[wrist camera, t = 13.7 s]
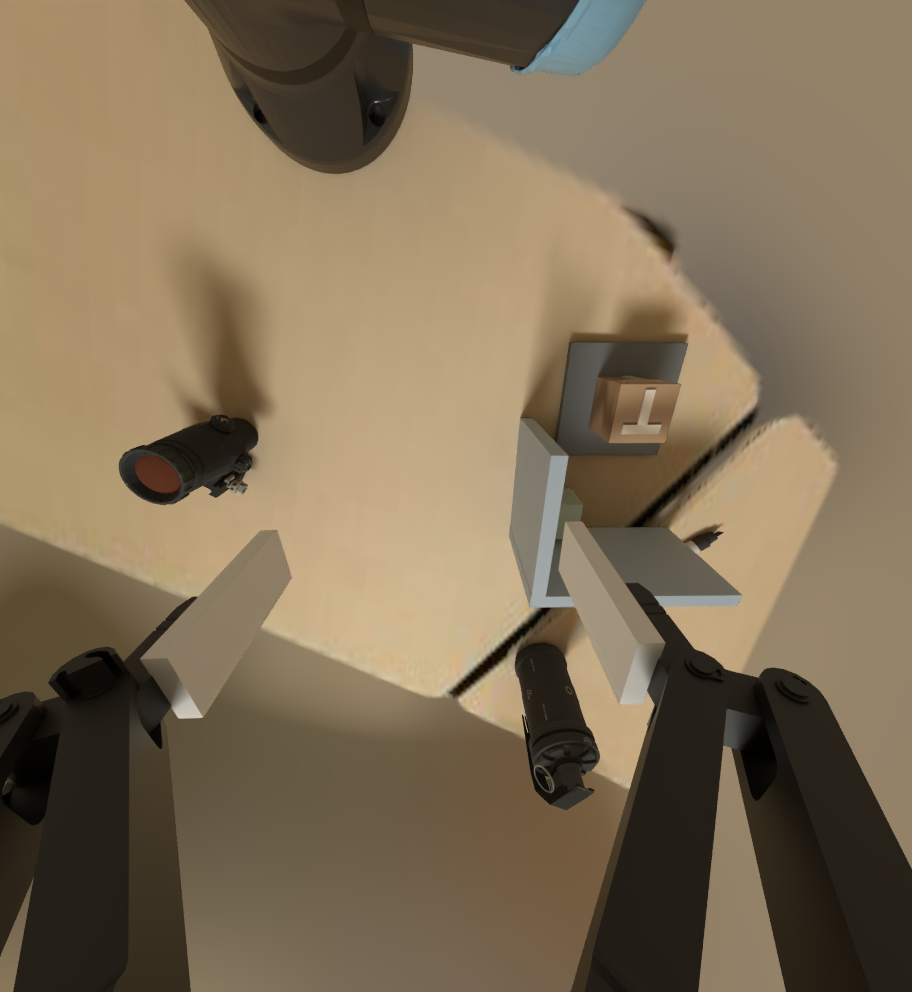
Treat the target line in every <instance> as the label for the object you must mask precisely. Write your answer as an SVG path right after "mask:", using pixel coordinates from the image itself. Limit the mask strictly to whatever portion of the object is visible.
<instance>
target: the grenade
mask: <svg viewBox="0 0 912 992" xmlns="http://www.w3.org/2000/svg"><path fill="white" fill-rule="evenodd" d="M515 671H516V675H517V677H518V678H519V681H520V686H521V691H522V699H523V704H524V709H525V714H526V716H525V720H526V725H527V729H528V733H527V730H526V726H525V721H524V717H523V715H522V719H523V725H524V732H525V739H526V745H527V752H528V758H529V765H530V771H531V776H532V779H533V783H534V787H535V790H536V792H537V793H538V794H539V795H540V796H541V797H542V798H543V799H544V800H545V801H547V802H548V803H549V804H550V805H553V806H556V807H559V808H562V809H565V810H567V809H569V808H571V807H572V806H574V805H576V804H577V803H579V802H580V801H582V800H584V799H585V798H587V797H588V796H589V795H591V794H592V793H594V790H593V789H591V788H589V789H587V788H585V787H584V784H583V780H582V778H581V776H583V775H585V774H586V772H588V771H591V770H592V769H593V768H594V767H595V766H596V765H597V763H598V762H599V759H600V754H599V750H598V748H597V745H596V743H595V739H594V736H593V733H592V732H591V730H590V729H589V728H588V727H587V726H586V723H585V720H584V717H583V714H582V712H581V709H580V705H579V701H578V698H577V695H576V693H575V690H574V687H573V685H572V683H571V680H570V677H569V674H568V671H567V663H566V660H565V657H564V655H563V654H562V652H561V651H560V650H559V649H557V648H556V647H554V646H551V645H546V644H536V645H532V646H529V647H527V648H525V649H524V650H523V651H521V652H520V653H519V654H518V656H517V658H516V661H515ZM526 717H527V719H526ZM527 721H528V722H527ZM545 776H548V777H550V778H549V779H548V780H547V781H546V778H545ZM547 782H548V784H547ZM548 786H549V787H548Z"/></svg>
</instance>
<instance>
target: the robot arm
mask: <svg viewBox="0 0 912 992" xmlns="http://www.w3.org/2000/svg"><path fill="white" fill-rule="evenodd" d="M185 1H186V3H187V4H188V5H189V6H190V7H191V9H192V10H193V11H194V12H195V13H196V15H197V16H198V17H199V18H200V20H201V21H202V22H203V23H204V24H205V26H206V27H207V28H208V30H209V33H210V35H211V38H212V40H213V43H214V46H215V48H216V51H217V53H218V56H219V58H220V61H221V63H222V66H223V69H224V71H225V73H226V76H227V78H228V80H229V82H230V84H231V86H232V88H233V90H234V92H235V93H236V95H237V97H238V99H239V100H240V102H241V104H242V105H243V107H244V108H245V110H246V111H247V113H248V114H249V115H250V117H251V118H252V120H253V121H254V122H255V123H256V125H257V126H258V127H259V128H260V129H261V130H262V131H263V132H264V133H265V135H266V136H267V137H268V138H269V139H270V140H271V141H272V142H273V143H274V144H275V145H276V146H277V147H278V148H279V149H280V150H281V151H282V152H284V153H285V154H286V155H287V156H289V157H290V158H291V159H293V160H294V161H296V162H298V163H299V164H301V165H303V166H305V167H308V168H310V169H313V170H315V171H319V172H324V173H332V174H341V173H348V172H352V171H355V170H358V169H360V168H362V167H364V166H366V165H368V164H370V163H371V162H372V161H374V160H375V159H376V158H377V157H378V156H380V155H381V154H382V152H383V151H384V150H385V149H386V148H387V147H388V145H389V144H390V143H391V141H392V140H393V138H394V136H395V135H396V133H397V131H398V129H399V127H400V125H401V122H402V120H403V118H404V115H405V112H406V108H407V105H408V101H409V96H410V91H411V84H412V74H413V49H412V43H413V44H418V45H422V46H426V47H431V48H436V49H440V50H444V51H448V52H453V53H457V54H463V55H467V56H471V57H475V58H480V59H484V60H489V61H494V62H498V63H502V64H507V65H510V69H511V70H512V72H514V73H516V74H519V75H523V74H527V73H531V72H534V71H538V72H545V73H551V74H558V75H564V76H577V75H581V74H583V73H585V72H586V71H587V70H589V69H591V68H592V67H593V66H596V65H598V64H599V63H600V62H602V61H603V60H604V59H605V58H606V57H607V56H608V55H609V53H610V52H611V51H612V50H613V49H614V48H615V47H616V45H617V44H618V43H619V41H620V40H621V39H622V37H623V36H624V35H625V33H626V32H627V30H628V29H629V28H630V26H631V24H632V23H633V21H634V20H635V18H636V17H637V15H638V13H639V12H640V10H641V8H642V7H643V5H644V4H645V2H646V0H185ZM558 570H559V572H560V574H561V577H562V579H563V581H564V583H565V586H566V588H567V590H568V592H569V594H570V597H571V599H572V601H573V603H574V606H575V608H576V610H577V612H578V614H579V617H580V619H581V621H582V623H583V626H584V628H585V630H586V632H587V634H588V637H589V639H590V641H591V643H592V646H593V648H594V650H595V652H596V654H597V657H598V659H599V661H600V663H601V665H602V668H603V670H604V672H605V674H606V677H607V679H608V681H609V683H610V685H611V688H612V690H613V692H614V694H615V697H616V699H617V701H618V703H619V705H627V704H644V701H645V698H646V695H647V693H649V695H650V697H651V699H652V701H653V702H654V704H655V706H654V708H653V711H652V713H651V716H650V718H649V721H648V724H647V725H648V728H647V732H646V735H645V738H644V742H643V745H642V749H641V752H640V756H639V759H638V762H637V766H636V769H635V773H634V776H633V780H632V783H631V787H630V790H629V793H628V797H627V800H626V804H625V807H624V811H623V814H622V817H621V821H620V825H619V828H618V832H617V835H616V838H615V841H614V845H613V848H612V852H611V856H610V859H609V862H608V866H607V869H606V873H605V876H604V879H603V883H602V886H601V890H600V893H599V897H598V900H597V903H596V907H595V910H594V914H593V917H592V920H591V924H590V927H589V931H588V934H587V938H586V941H585V945H584V948H583V951H582V955H581V958H580V962H579V965H578V969H577V972H576V975H575V979H574V982H573V985H572V989H571V992H698V988H699V978H700V968H701V959H702V949H703V939H704V928H705V918H706V909H707V899H708V889H709V880H710V869H711V860H712V850H713V840H714V830H715V820H716V811H717V801H718V791H719V790H718V789H719V780H720V771H721V761H722V751H723V745H724V746H727V747H731V748H732V753H733V757H734V761H735V766H736V770H737V774H738V779H739V784H740V788H741V793H742V797H743V802H744V806H745V810H746V815H747V820H748V824H749V828H750V833H751V837H752V842H753V846H754V850H755V855H756V860H757V864H758V868H759V873H760V878H761V882H762V887H763V890H764V895H765V899H766V904H767V909H768V913H769V918H770V922H771V927H772V931H773V936H774V940H775V944H776V949H777V953H778V958H779V962H780V967H781V971H782V976H783V980H784V985H785V989H786V992H912V869H911V867H910V865H909V863H908V861H907V859H906V857H905V855H904V853H903V851H902V849H901V847H900V845H899V843H898V841H897V839H896V837H895V835H894V833H893V831H892V829H891V827H890V825H889V823H888V821H887V819H886V817H885V815H884V813H883V811H882V809H881V807H880V805H879V803H878V801H877V799H876V797H875V795H874V793H873V791H872V789H871V788H870V786H869V784H868V782H867V780H866V778H865V776H864V774H863V772H862V770H861V768H860V766H859V764H858V762H857V760H856V758H855V756H854V754H853V752H852V750H851V748H850V746H849V744H848V742H847V740H846V738H845V736H844V734H843V732H842V730H841V728H840V726H839V724H838V722H837V720H836V718H835V716H834V715H833V712H832V710H831V708H830V706H829V704H828V702H827V700H826V699H825V698H824V696H823V695H822V694H821V692H820V691H819V690H818V689H817V688H816V687H814V686H813V685H812V684H811V683H810V682H808V681H807V680H805V679H803V678H802V677H800V676H799V675H797V674H794V673H792V672H789V671H787V670H784V669H779V668H767V669H765V670H764V671H763V672H762V673H761V674H760V676H759V678H757V677H753V676H749V675H745V674H741V673H736V672H732V671H729V670H726V669H724V667H723V666H722V665H721V664H720V663H719V662H717V661H716V660H715V659H714V658H712V657H711V656H709V655H707V654H705V653H704V652H701V651H698V650H695V649H694V648H693V647H692V645H691V644H690V643H689V641H688V640H687V639H686V638H685V636H684V635H683V634H682V632H681V631H680V630H679V628H678V627H677V626H676V624H675V623H674V622H673V620H672V619H671V618H670V617H669V615H667V614H666V611H665V610H664V609H663V607H662V606H661V605H659V602H658V601H657V600H656V598H655V597H654V596H653V594H652V593H651V592H650V591H649V590H647V589H646V588H645V587H643V586H642V585H641V584H639V583H624V582H623V580H622V579H621V577H620V576H619V575H618V573H617V572H616V570H615V569H614V567H613V566H612V564H611V563H610V561H609V560H608V559H607V557H606V556H605V554H604V553H603V551H602V550H601V548H600V547H599V545H598V544H597V542H596V541H595V540H594V538H593V537H592V535H591V534H590V532H589V531H588V529H587V528H586V526H585V525H584V524H583V522H582V521H574V522H565V527H564V534H563V541H562V548H561V555H560V562H559V569H558ZM291 578H292V576H291V573H290V570H289V566H288V563H287V560H286V557H285V553H284V550H283V547H282V544H281V540H280V537H279V534H278V531H277V530H264V531H260V532H259V533H258V534H257V535H256V536H255V537H254V538H253V539H252V540H251V541H250V542H249V543H248V544H247V545H246V547H245V548H244V549H243V550H242V551H241V552H240V553H239V554H238V555H237V556H236V557H235V558H234V559H233V560H232V561H231V562H230V564H229V565H228V566H227V567H226V568H225V569H224V570H223V571H222V572H221V573H220V574H219V575H218V576H217V577H216V578H215V580H214V581H213V582H212V583H211V584H210V585H209V586H208V587H207V588H206V589H205V590H204V591H203V592H202V593H201V594H200V595H199V597H191V598H190V599H188V600H187V601H185V602H184V603H183V604H181V605H180V606H178V607H177V608H176V609H175V610H174V611H173V612H172V613H171V614H170V615H169V616H168V617H167V618H166V620H165V621H163V622H162V623H161V624H160V625H159V626H158V627H157V628H156V631H153V632H152V633H151V634H150V635H149V636H148V637H147V638H146V639H145V640H144V641H143V642H142V643H141V645H139V646H138V647H137V648H136V650H135V651H134V652H133V653H132V654H131V655H130V656H129V657H128V658H127V659H126V660H125V661H124V662H123V661H122V659H121V658H120V656H119V655H118V653H117V652H116V650H115V649H113V648H110V647H103V648H97V649H93V650H90V651H87V652H85V653H83V654H81V655H79V656H77V657H75V658H73V659H71V660H70V661H69V662H67V663H66V664H64V665H63V666H61V667H60V668H59V669H58V670H57V671H56V672H55V673H54V674H53V675H52V677H51V679H50V681H49V682H48V683H49V684H50V686H51V687H52V688H53V689H54V690H55V691H56V692H57V693H58V695H59V696H60V697H56V698H53V699H49V700H46V701H42V702H41V701H40V700H39V698H38V697H37V696H36V695H35V694H34V693H33V692H21V693H16V694H13V695H10V696H8V697H5V698H3V699H0V955H1V953H2V951H3V948H4V946H5V944H6V941H7V939H8V936H9V934H10V932H11V929H12V927H13V925H14V922H15V920H16V917H17V915H18V913H19V910H20V908H21V906H22V903H23V901H24V898H25V896H26V893H27V891H28V889H29V886H30V884H31V882H32V879H33V877H34V880H33V885H32V891H31V897H30V902H29V908H28V913H27V919H26V924H25V930H24V936H23V941H22V946H21V952H20V958H19V963H18V969H17V974H16V980H15V986H14V991H13V992H191V989H190V979H189V967H188V957H187V947H186V946H187V945H186V935H185V923H184V913H183V901H182V891H181V880H180V868H179V859H178V846H177V835H176V824H175V813H174V802H173V792H172V781H171V770H170V758H169V747H168V737H167V726H166V724H165V722H164V720H163V717H164V716H165V714H166V713H167V712H168V710H169V709H170V708H171V707H172V709H173V710H174V712H175V714H176V715H177V717H178V718H203V717H204V715H205V714H206V712H207V711H208V709H209V708H210V706H211V704H212V703H213V701H214V700H215V698H216V697H217V695H218V693H219V692H220V690H221V689H222V687H223V686H224V684H225V682H226V681H227V679H228V678H229V676H230V675H231V673H232V671H233V670H234V668H235V667H236V665H237V664H238V662H239V660H240V659H241V657H242V656H243V654H244V652H245V651H246V649H247V648H248V646H249V645H250V643H251V641H252V640H253V638H254V637H255V635H256V634H257V632H258V630H259V629H260V627H261V626H262V624H263V623H264V621H265V619H266V618H267V616H268V615H269V613H270V612H271V610H272V608H273V607H274V605H275V604H276V602H277V601H278V599H279V597H280V596H281V594H282V593H283V591H284V589H285V588H286V586H287V585H288V583H289V582H290V580H291ZM6 781H7V784H6V786H5V787H4V785H5V782H6ZM3 787H4V789H3ZM2 790H3V791H2Z"/></svg>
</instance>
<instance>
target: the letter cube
mask: <svg viewBox="0 0 912 992" xmlns="http://www.w3.org/2000/svg"><path fill="white" fill-rule="evenodd" d="M680 387H681V384H678V383H674V382H669V381H665V380H660V379H656V378H651V377H634V376H621V377H597V381H596V387H595V393H594V398H593V404H592V410H591V415H590V421H589V427H588V429H590V430H591V431H592V432H594V433H595V434H597V435H598V436H600V437H601V438H602V439H604V440H605V441H607V442H608V443H665V440H666V436H667V433H668V429H669V426H670V422H671V419H672V415H673V412H674V408H675V405H676V401H677V398H678V394H679V391H680Z"/></svg>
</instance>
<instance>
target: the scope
mask: <svg viewBox="0 0 912 992" xmlns="http://www.w3.org/2000/svg"><path fill="white" fill-rule="evenodd" d="M257 442H258V434H257V431H256V430H255V428H254V427H253V426H252V424H250V423H249V422H248V421H246V420H243V419H239V418H234V419H231V418H230V419H229V418H228V417H227V416H225V415H215V416H213V417H212V418H211V420H210V421H208V422H203V423H199V424H196V425H193V426H190V427H187V428H185V429H182V430H181V431H179V432H176V433H174V434H171V435H169V436H167V437H164V438H162V439H160V440H157V441H155V442H153V443H151V444H149V445H146V446H145V445H142V446H139V447H136V448H133V449H130V451H127V452H125V453H124V454H123V456H122V458H121V459H120V462H119V472H120V475H121V478H122V480H123V481H124V483H125V484H126V486H127V487H128V488H129V489H130V490H131V491H132V492H133V493H135V494H136V495H137V496H139V497H140V498H142V499H144V500H146V501H148V502H151V503H155V504H160V505H166V504H175V503H176V502H178V501H180V500H182V499H184V498H185V497H187V496H188V495H189V492H192V491H193V490H196V489H198V488H199V487H201V486H204V487H206V488H208V489H210V490H211V491H212V492H211V493H210V494H209V495H211V496H213V497H215V498H216V497H218V496H220V495H221V494H222V493H224V492H225V491H227V490H228V489H230V491H231V492H233V493H238V494H240V495H242V494H244V492H245V491H246V490H247V488H248V485H247V484H245V483H243V481H242V479H243V477H244V475H245V473H246V472H247V471H248V470H249V469H250V468H251V467H252V466H251V465H250V464H253V463H252V458H251V456H248V454H247V453H248V451H249V450H251V449H252V448H254V447H255V446H256V444H257Z"/></svg>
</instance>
